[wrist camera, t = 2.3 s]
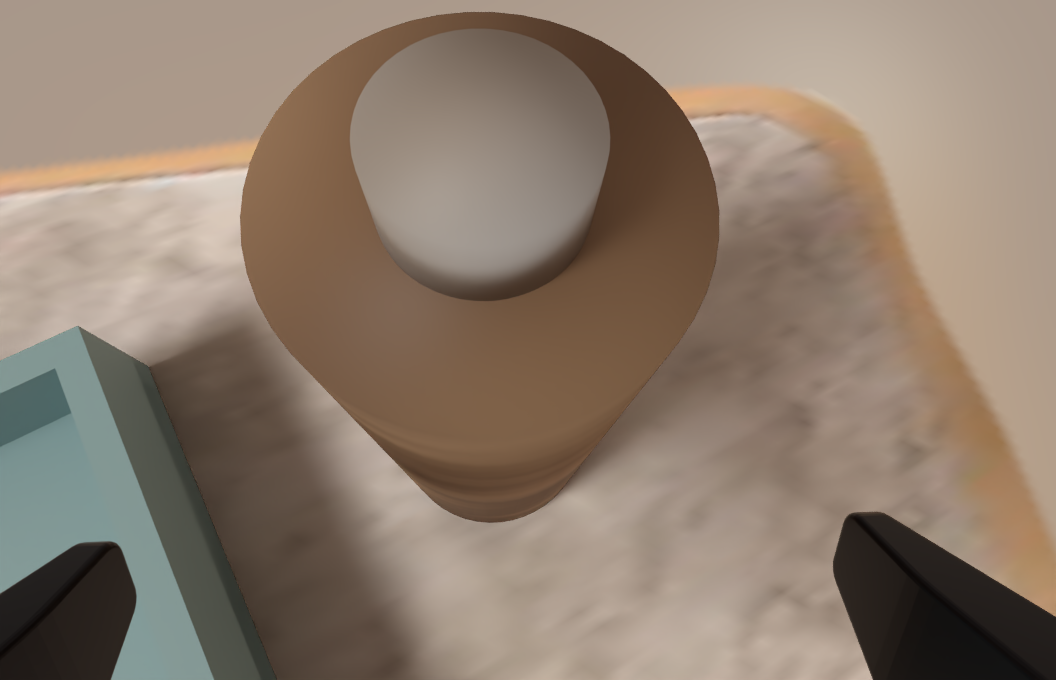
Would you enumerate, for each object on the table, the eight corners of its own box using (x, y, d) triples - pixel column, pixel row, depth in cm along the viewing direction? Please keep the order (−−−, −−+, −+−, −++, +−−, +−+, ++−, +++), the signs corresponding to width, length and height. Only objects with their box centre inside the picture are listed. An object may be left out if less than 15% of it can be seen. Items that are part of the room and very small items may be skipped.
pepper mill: (612, 402, 20) (846, 67, 7) (521, 559, 19) (584, 535, 5) (466, 316, 21) (409, -147, 7) (367, 459, 19) (63, 206, 6)
